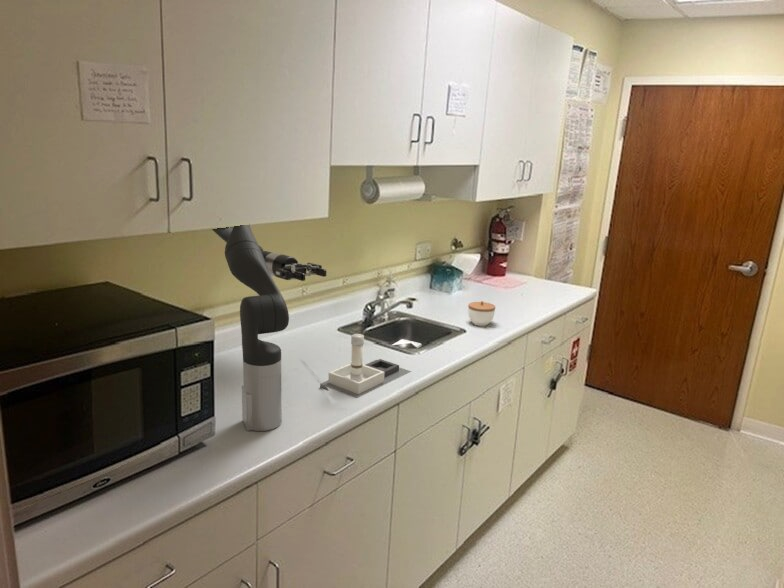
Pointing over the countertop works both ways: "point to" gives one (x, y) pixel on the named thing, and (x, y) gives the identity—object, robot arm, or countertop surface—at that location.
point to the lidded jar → (481, 313)
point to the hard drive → (408, 342)
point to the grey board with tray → (372, 378)
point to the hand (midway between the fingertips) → (315, 275)
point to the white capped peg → (357, 357)
